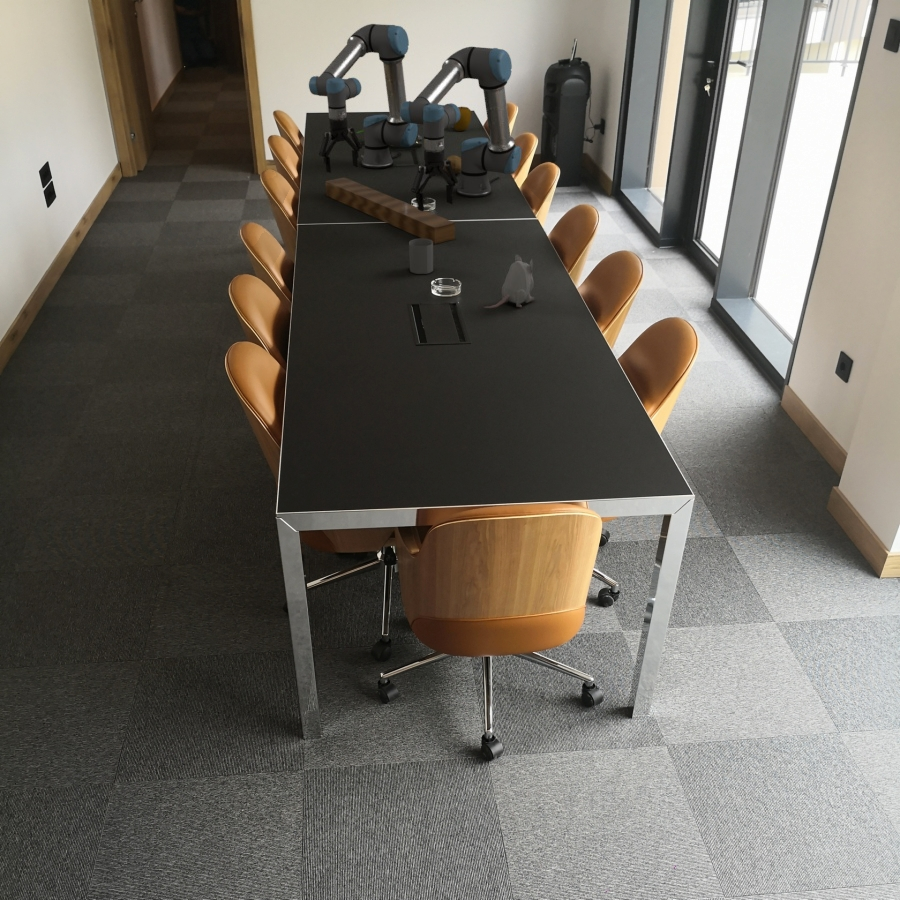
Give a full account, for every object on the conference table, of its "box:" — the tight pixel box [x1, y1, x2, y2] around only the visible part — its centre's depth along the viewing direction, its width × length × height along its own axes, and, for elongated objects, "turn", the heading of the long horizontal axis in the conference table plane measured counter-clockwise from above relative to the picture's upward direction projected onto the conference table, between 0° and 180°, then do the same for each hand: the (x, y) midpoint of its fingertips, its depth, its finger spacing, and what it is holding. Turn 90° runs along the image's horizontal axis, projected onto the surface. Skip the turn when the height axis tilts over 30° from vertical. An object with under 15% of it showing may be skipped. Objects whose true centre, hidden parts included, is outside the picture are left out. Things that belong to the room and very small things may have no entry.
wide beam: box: [325, 177, 456, 245], centre depth 358 cm, size 80×10×6 cm, turn 38°
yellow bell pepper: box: [453, 105, 472, 132], centre depth 487 cm, size 11×11×13 cm
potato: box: [443, 154, 461, 175], centre depth 412 cm, size 10×14×8 cm
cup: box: [408, 237, 434, 275], centre depth 305 cm, size 8×8×10 cm
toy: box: [483, 253, 535, 309], centre depth 276 cm, size 9×24×15 cm, turn 137°
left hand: (342, 169), depth 376 cm, fingers open, 13 cm apart
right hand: (435, 206), depth 331 cm, fingers open, 13 cm apart
